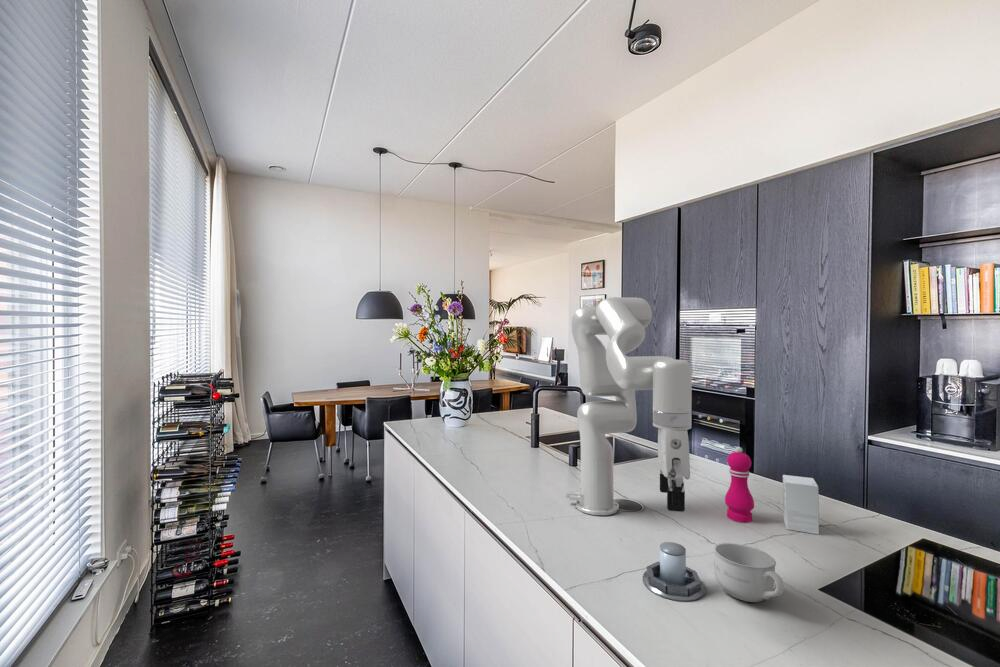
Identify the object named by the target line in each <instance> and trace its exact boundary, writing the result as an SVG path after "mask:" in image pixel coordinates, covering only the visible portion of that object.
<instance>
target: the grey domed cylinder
mask: <svg viewBox="0 0 1000 667" xmlns="http://www.w3.org/2000/svg"><path fill="white" fill-rule="evenodd" d="M686 550H687V549H686V548H685V547H684V546H683V545H681V544H679V543H677V542H672V541H666V542H662V543H660V544H659V562H660V580H661V581H663V582H665V583H667V584H671V585H680V586H686V567H687V561H686V560H687V559H686V558H687V553H686V552H687V551H686Z"/></svg>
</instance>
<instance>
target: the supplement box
mask: <svg viewBox="0 0 1000 667" xmlns="http://www.w3.org/2000/svg"><path fill="white" fill-rule="evenodd" d="M819 495H820V494H819V485H818V484H817V482H816V481H815V479H814V478H813V477H806V476H797V475H789V474H788V475H787V474H782V508H783V509H782V519H783V521H784V525H785V529H786V530H788V531H795V532H801V533H808V534H815V535H820V516H819V515H820V513H819V512H820V511H819V510H820V508H819V507H820V506H819V500H820V499H819V497H820V496H819Z"/></svg>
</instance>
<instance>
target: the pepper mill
mask: <svg viewBox="0 0 1000 667" xmlns="http://www.w3.org/2000/svg"><path fill="white" fill-rule="evenodd" d="M726 463H727V465H728V466H729V469H728V470H729V472H728V474H729V475H730V486H729V488H728V490H727V492H726V494H725V496H724V503H725V505H726V506H727V510H726V516H727V518H728V519H729V520H731V521H734V522H737V523H744V524H745V523H751V522H752V521H753V512H752V511H753V510H754V508H755V500H754V498H753V496H752V493H751V492H750V489H749V485H748V478H749V477H750V471H749V470H750V469H751V467H752V460H751V458H750V456H749V455H748V454H746V453H744V452H743V447H741V446H736V447H735V451H733V452H731V453H729V454H728V455H727V458H726Z"/></svg>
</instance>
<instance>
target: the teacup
mask: <svg viewBox="0 0 1000 667" xmlns="http://www.w3.org/2000/svg"><path fill="white" fill-rule="evenodd" d="M713 550H714V562H713V563H714V576H715V579H716V581H717V583H718V585H719V586H720V587H722V589H724V591H725V592H726V593H727V594H728V595H730V596H731V597H734V598H735V599H738V600H741V601H743V602H748V603H758V602H761V601H763V600H769V599H770V598H774V597H778V596H781V595H782V594H783V593H784V591H785V584H784V583H785V582H784V581H783V579H782V577H781V576H780V575H779V574H778V573H777V572H776V566H777V562H776V560H775V558H774V557H773V556H772V555H770V554H769V553H767V552H766V551H764V550H762V549H760V548H757V547H753V546H750V545H747V544H742V543H737V542H721V543H718V544H716V545H714V548H713ZM774 588H775V589H774Z"/></svg>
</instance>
